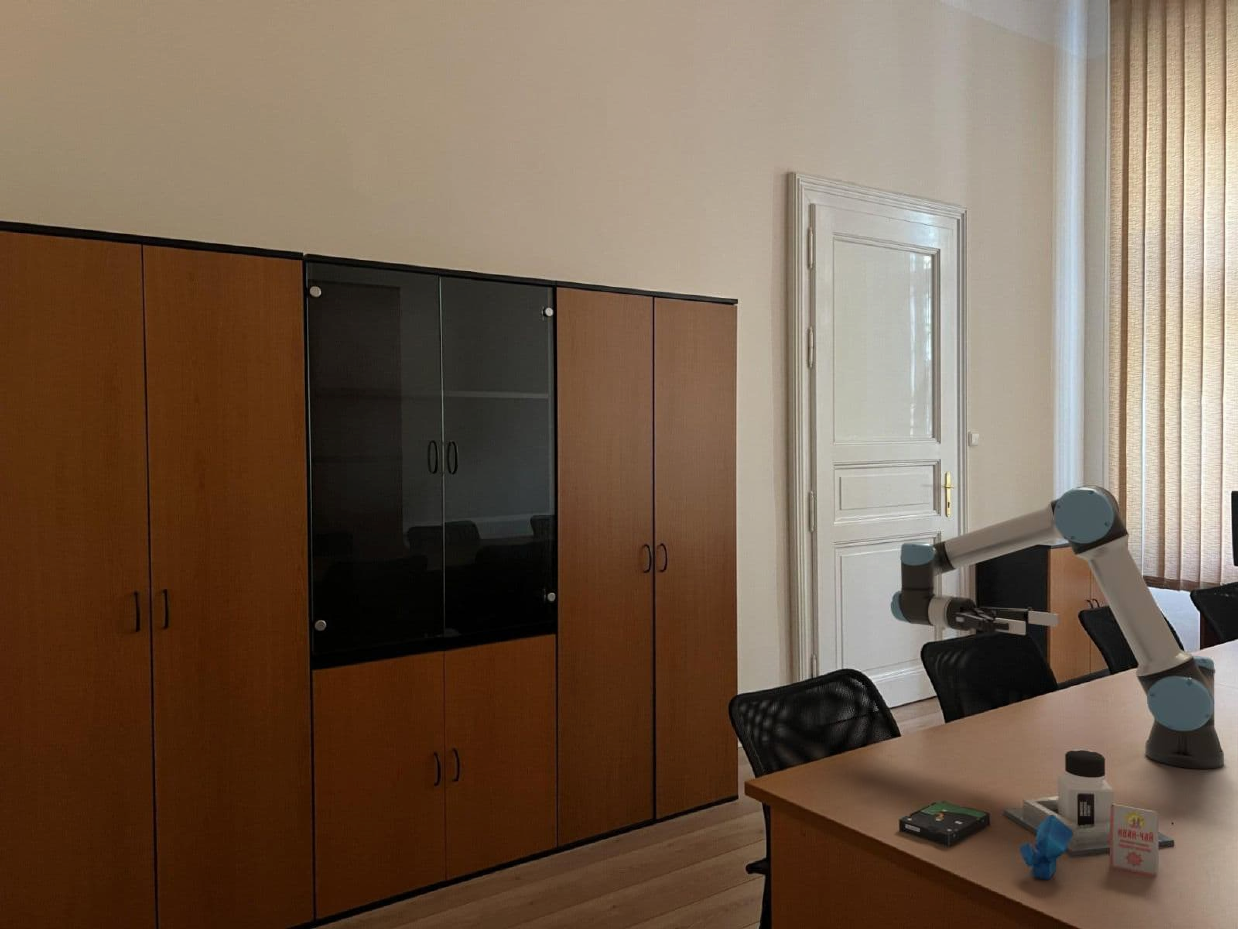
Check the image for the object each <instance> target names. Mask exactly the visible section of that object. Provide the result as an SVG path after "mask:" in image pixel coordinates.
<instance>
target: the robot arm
mask: <svg viewBox="0 0 1238 929" xmlns="http://www.w3.org/2000/svg"><path fill="white" fill-rule="evenodd" d="M1129 537H1130V534H1129V531H1128V530H1127V528H1126V526H1125V524H1124V522H1123V520H1122V518H1121V516H1120V506H1119V503H1118V500H1117V499H1116V497H1115V496H1114V495H1113V493H1111V491H1109V490H1107V489H1106V488H1104V487H1101V486H1099V485H1094V484H1092V485H1090V484H1089V485H1083V486H1077V487H1074V488H1071V489H1070V490H1068V491H1066V492H1064V493H1063V494H1062V495H1061V496H1060V497H1059V498H1057V499H1054V500H1051V501H1049V503H1048V505H1047V506H1046V507H1043V508H1041V509H1040V508H1039V509H1038V510H1034V511H1031V512H1028V513H1025V514H1023V515H1019V516H1017V517H1016V516H1015V517H1013V518H1010V519H1006V520H1004V521H1001V522H997V523H994V524H991V525H989V526H986V527H983V528H978V529H976V530H974V531H970V532H967V533H965V534H961V535H957V536H955V537H952V538H950V539H949V538H948V539H946V540H944V541H939V542H937V543H933V544H932V543H930V542H925V541H911V542H908V541H907V542H904V543H903V544H902V545H901V548H900V556H899V558H900V568H901V569H900V575H901V576H900V577H901V578H900V579H901V588H900V590H898V591H896V592H895V593H894V594H893V595H892V597H891V600H892V601H891V602H890V610H891V614H892V616H893V617H894V619H896V620H897V621H900V622H904V623H908V624H911V625H920V626H921V625H922V626H930V627H937V628H940V629H941V630H942V631H945V630H946V629H952V630H957V631H962V632H967V631H971V630H972V629H975V630H977V631H981V632H984V633H985V632H987V634H989V635H994V634H995V632H1001V633H1007V634H1014V635H1020V636H1021V635H1022V636H1025V635H1026V631H1027V630H1026V628H1027V627H1026V623H1028V624H1032V625H1039V626H1047V627H1055V628H1058V627H1059V613H1050V612H1044V611H1043V612H1042V611H1035V610H1034V609H1032V606H1031V607H1030V606H1028V607H1027V608H1013V607H1012V608H1011V607H1010V608H1009V607H994V606H993V607H992V606H979V607H977V605H976V603H975V602H974V600H973V599H972V598H969V597H960V596H953V595H946V594H935V577H937V576H939V575H942V574H946V573H949V572H953V571H955V570H958V569H961V568H965V567H968V566H971V565H974V564H978V563H980V562H984V561H987V560H991V559H994V558H997V557H1000V556H1004V555H1008V554H1010V553H1015V552H1017V551H1020V550H1024V549H1027V548H1030V547H1034V546H1036V545H1040V544H1043V543H1046V542H1049V541H1052V540H1057V539H1061V540H1064V541H1067V542H1068V544H1069V546H1070V547H1071V550H1072V551H1073V553H1074V556H1075V557H1076V558H1079V559H1083V561H1084V560H1085V561H1086V563H1087V565H1088V566H1089V570H1091V573H1092V575H1093V577H1094V579H1095V580H1096V583H1097V584H1098V587H1099V589H1100V590H1101V592H1102V595H1103V596H1104V598H1105V601H1106V602H1107V604H1108V606H1109V608H1110V610H1111V612H1112V614H1113V616H1114V618H1115V620H1116V622H1117V624H1118V626H1119V628H1120V630H1121V632H1122V633H1123V636H1124V638H1125V639H1126V642H1127V643H1128V645H1129V648H1130V650H1131V652H1132V653H1133V655H1134V658H1135V659H1136V661H1137V663H1138V665H1137V668H1136V670H1135V675H1136V678H1137V680H1138V682H1139V684H1140V685H1141V687H1142V689H1143V692H1144V694H1145V695H1146V696H1145V697H1146V703H1147V707H1148V710H1149V712H1150V713H1151V715H1152V717H1153V723H1152V726H1151V729H1150V733H1149V735H1148V739H1147V740H1146V741H1145V746H1144V747H1145V751H1144V752H1145V755H1146V756H1147V757H1148V758H1149V759H1151V760H1153V761H1155V762H1158V763H1161V764H1164V765H1169V766H1173V767H1179V768H1184V769H1185V768H1187V769H1195V770H1196V769H1198V770H1199V769H1201V770H1203V769H1204V770H1205V769H1206V770H1208V769H1216V768H1220V767H1222V766H1224V764H1225V753H1224V750H1223V748H1222V746H1221V743H1220V740H1219V736H1218V734H1217V731H1216V727H1215V674H1216V669H1215V663H1214V661H1213V659H1212V658H1210V657H1205V656H1199V655H1193V654H1192V653H1189V652H1188V651H1184V650H1182V649H1181V648H1180V646H1179V644H1178V641H1177V640H1176V638H1175V636H1174V634H1173V633H1172V631H1171V629H1170V627H1169V625H1168V622H1167V621H1166V620H1165V618H1164V615H1163V614H1162V612H1161V610H1160V608H1159V606H1158V604H1157V602H1156V600H1155V598H1154V595H1153V594H1152V592H1151V590H1150V588H1149V586H1148V585H1147V583H1146V581H1145V579H1144V577H1143V575H1142V573H1141V571H1140V570H1139V567H1138V566H1137V564H1136V561H1135V560H1134V558H1133V556H1132V554H1131V552H1130V550H1129V548H1128V546H1127V542H1128V540H1129Z"/></svg>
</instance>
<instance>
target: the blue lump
mask: <svg viewBox="0 0 1238 929" xmlns="http://www.w3.org/2000/svg"><path fill="white" fill-rule="evenodd" d="M1072 835H1073V831H1072V830H1071V829H1069V828H1068V827H1067V826H1066V825H1065V824H1064V823H1062V822H1061V821H1060V820H1059V819H1058V818H1056V817H1055V816H1054V815H1050V816H1049V817H1048V818H1047V819H1046V820H1044V821H1043V822H1042V823H1041V824H1040V825H1039V826H1038V829H1037V835H1036V838H1035V843H1034V847H1033V845H1032V843H1029V842H1028V843H1025V844H1023V845H1020V846H1019V851H1020V853H1021V855H1022V858H1023V860H1024V862H1025V863H1026V865H1027V867H1032V876H1033V877H1034V878H1037V879H1041V880H1046V881H1048V880H1049V879H1051V877H1052V875H1053V874H1054V872H1055V870H1056V869H1057V868H1058V865H1057V862H1058V858H1060V857H1061V856H1062V855H1063V854H1065V850H1066V848H1067V846H1068V844H1069V841H1070V839H1071V837H1072ZM1034 848H1035V849H1034Z"/></svg>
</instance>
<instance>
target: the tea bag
mask: <svg viewBox="0 0 1238 929" xmlns="http://www.w3.org/2000/svg"><path fill="white" fill-rule="evenodd" d="M1158 822H1159V821H1158V811H1156V810H1149V809H1144V808H1137V807H1131V806H1126V805H1122V804H1117V803H1114V804H1111V819H1110V853H1109V868H1112V869H1117V870H1121V871H1122V870H1123V871H1127V872H1131V873H1135V874H1136V873H1137V874H1141V875H1146V876H1149V877H1156V878H1157V876H1158V875H1157V874H1158V871H1159V866H1160V864H1159V861H1160V860H1159V853H1160V852H1159V847H1158V832H1159V823H1158Z"/></svg>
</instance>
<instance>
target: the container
mask: <svg viewBox="0 0 1238 929" xmlns="http://www.w3.org/2000/svg"><path fill="white" fill-rule="evenodd" d="M1064 767H1065V768H1064V769H1065V770H1064V772H1065V773H1058V774H1057V796H1058V814H1059V815H1060V816H1062V817H1063V818H1065V819H1067V820H1069V821H1070V822H1072V823H1074V824H1076V825H1078V826H1080V825H1089V824H1099V823H1108V822H1110V819H1111V804H1115V801H1114V799H1115V798H1114V796H1115V794H1114V789H1113V788H1112V787H1111V785H1109V783H1108V782H1107V781H1106V758H1105V757H1104V755H1102V754H1100V753H1099V752H1096V751H1094V750H1091V749H1090V750H1089V749H1084V748H1083V749H1081V748H1077V749H1071V750H1069V751H1067V752H1066V753H1065V754H1064Z"/></svg>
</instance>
